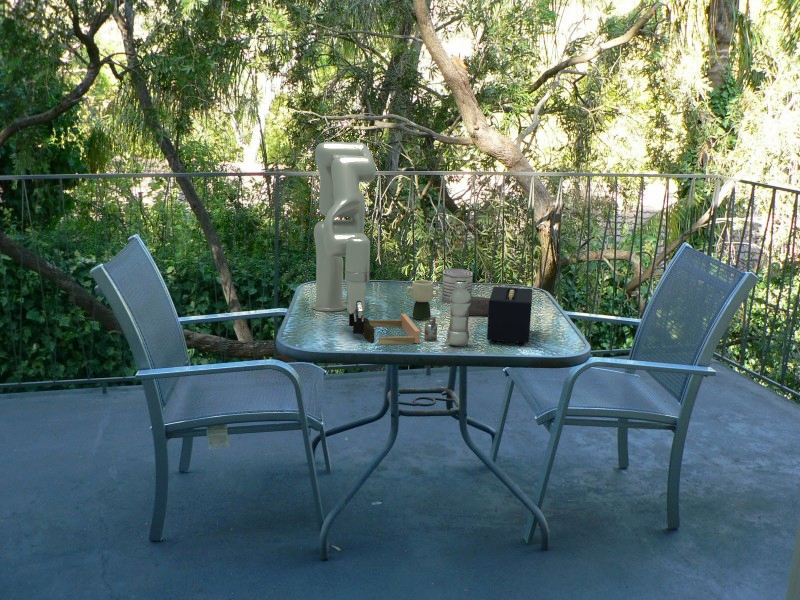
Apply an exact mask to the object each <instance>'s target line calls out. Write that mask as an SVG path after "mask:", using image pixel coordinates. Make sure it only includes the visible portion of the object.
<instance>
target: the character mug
mask: <svg viewBox="0 0 800 600" xmlns="http://www.w3.org/2000/svg"><path fill="white" fill-rule="evenodd" d="M410 290H411V292H410ZM434 291H435V293H434ZM406 296H408V297H411V299H412V301H414V304H413V309H412V310H413V311H412V317H413V318H415V319H417V320H428V319H430V318H431V317H432V316H431V314H432V313H431V305H430V301H432V300H433V298H438V297H439V287H434V282H433V281H431V280H426V279H418V280H417V279H416V280H413V281H412V286H409V285H407V287H406Z"/></svg>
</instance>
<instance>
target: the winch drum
mask: <svg viewBox="0 0 800 600" xmlns="http://www.w3.org/2000/svg"><path fill="white" fill-rule="evenodd" d="M436 319H437V316H432V319H431V320H428V322H425V323H424V332H423V333H424V334H423V335H424V337H423V340H424V341H426V342H436V341H438V328H439V327H438V326H439V324H438V323H436V322H437V321H436Z"/></svg>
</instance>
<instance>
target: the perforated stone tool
mask: <svg viewBox="0 0 800 600" xmlns="http://www.w3.org/2000/svg"><path fill="white" fill-rule="evenodd" d="M489 299H490V297H484V296H473V295H472V296H471V304H470V309H469V316H473V317H474V316H475V317H476V316H478V317H488V310H489Z"/></svg>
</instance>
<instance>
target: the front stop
mask: <svg viewBox="0 0 800 600" xmlns="http://www.w3.org/2000/svg"><path fill="white" fill-rule="evenodd" d="M400 320H402V325H401V326H400V328H402V329H403V330H404V332H405V333H406V334H407V336H408V335H409V336H414V337H415V343H417V344H416V345H419V344H418V343H421V342H420V341H421V339H420V338H421V331H420V328H419V327H417V326H416V325H415V323H414V322H413V321H412V320H411V319H410V317H409V316H408V315H407V313H401V314H400Z"/></svg>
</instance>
